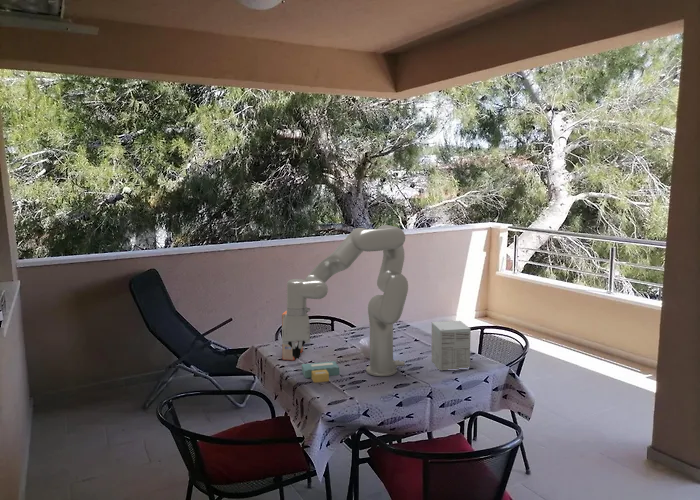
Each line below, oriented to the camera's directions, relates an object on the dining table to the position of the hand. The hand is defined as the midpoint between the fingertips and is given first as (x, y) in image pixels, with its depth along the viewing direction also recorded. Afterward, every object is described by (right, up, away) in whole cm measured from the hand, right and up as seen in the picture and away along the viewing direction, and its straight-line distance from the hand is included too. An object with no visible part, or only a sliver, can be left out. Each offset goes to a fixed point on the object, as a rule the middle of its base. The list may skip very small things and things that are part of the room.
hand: (296, 357), depth 209 cm
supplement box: (+63, -7, +18) cm, 66 cm away
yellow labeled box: (+9, -9, +4) cm, 14 cm away
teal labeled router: (+9, -8, +11) cm, 16 cm away
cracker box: (-5, -6, +33) cm, 34 cm away
